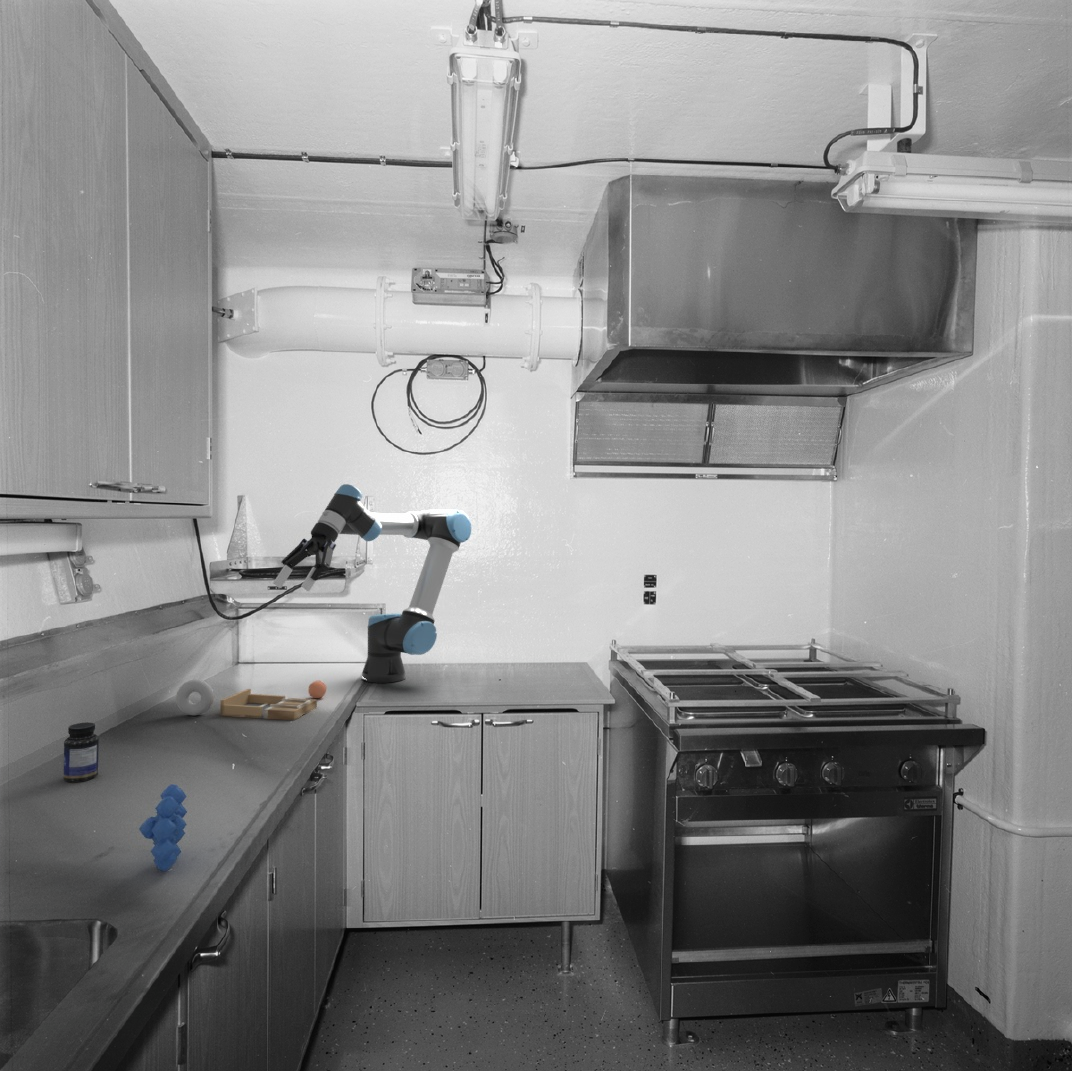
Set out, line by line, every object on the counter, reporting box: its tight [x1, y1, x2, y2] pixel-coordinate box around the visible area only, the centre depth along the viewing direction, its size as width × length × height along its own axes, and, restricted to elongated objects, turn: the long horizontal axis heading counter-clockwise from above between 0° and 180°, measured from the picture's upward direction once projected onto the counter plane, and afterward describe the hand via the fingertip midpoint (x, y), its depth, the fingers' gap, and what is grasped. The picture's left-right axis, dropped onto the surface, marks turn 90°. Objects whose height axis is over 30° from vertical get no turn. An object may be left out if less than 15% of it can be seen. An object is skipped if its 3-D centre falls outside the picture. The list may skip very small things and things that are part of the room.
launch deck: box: [263, 697, 318, 721], centre depth 200 cm, size 14×9×3 cm, turn 172°
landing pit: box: [219, 688, 286, 719], centre depth 201 cm, size 14×13×4 cm
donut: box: [175, 679, 215, 716], centre depth 195 cm, size 10×4×10 cm, turn 98°
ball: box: [308, 680, 327, 699], centre depth 218 cm, size 5×5×5 cm
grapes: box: [139, 783, 188, 872], centre depth 110 cm, size 12×7×12 cm, turn 16°
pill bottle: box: [63, 721, 100, 783], centre depth 146 cm, size 6×6×11 cm
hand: (290, 587), depth 202 cm, fingers open, 13 cm apart
